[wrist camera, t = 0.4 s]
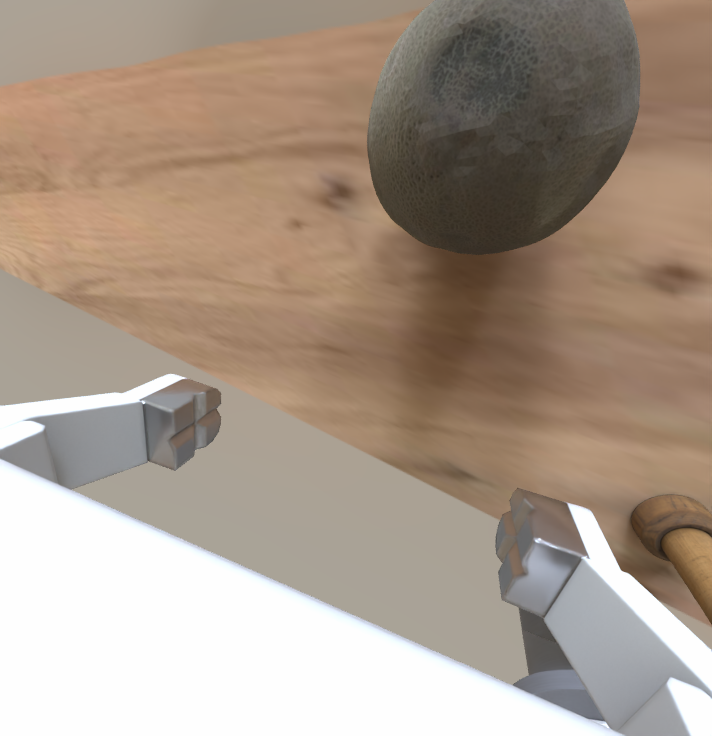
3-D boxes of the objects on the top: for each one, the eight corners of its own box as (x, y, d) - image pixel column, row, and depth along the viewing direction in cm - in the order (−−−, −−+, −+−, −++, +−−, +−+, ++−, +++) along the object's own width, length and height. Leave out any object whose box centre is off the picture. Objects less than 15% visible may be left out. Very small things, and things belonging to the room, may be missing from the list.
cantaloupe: (481, 0, 24) (508, -289, 10) (629, 131, 24) (836, 11, 11) (365, 184, 30) (290, 149, 17) (483, 284, 31) (500, 327, 17)
